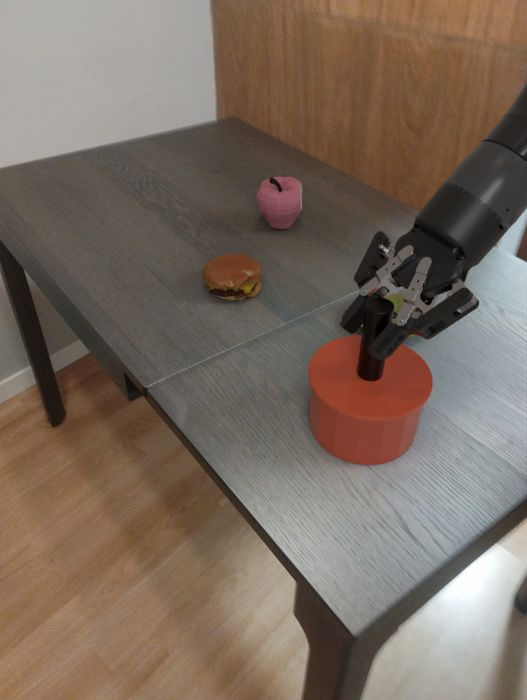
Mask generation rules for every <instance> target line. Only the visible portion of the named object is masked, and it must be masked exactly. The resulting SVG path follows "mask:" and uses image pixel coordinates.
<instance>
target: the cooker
mask: <svg viewBox="0 0 527 700" xmlns="http://www.w3.org/2000/svg"><path fill="white" fill-rule="evenodd" d="M310 388H311V387H310ZM309 402H310V404H309V405H310V406H309V428H310V432H311V433H312V436H313V437H314V439H315V441H316V442H317V443H318V444H319V446H320V447H321V448H322V449H323V450H325V451H326V452H327V453H329V454H330V455H331V456H332V457H335V458H338V459H340V460H341V461H344V462H347V463H351V464H355V465H362V466H375V465H382V464H383V465H384V464H387V463H391V462H393V461H395V460H397V459H399V458H400V457H402V456H404V455H405V454H406V453H407V451H409V449H410V448H411V447H412V445H413V444H414V441H415V439H416V435H417V432H418V431H419V430H418V429H419V426H420V422H421V418H422V413H423V410H424V406H423V407H422V408H421V409H419V410H418V411H417V412H415V413H414V414H412V415H410V416H407V417H405V418H402V419H399V420H394V421H387V422H370V421H362V420H357V419H353V418H350V417H347V416H344V415H342V414H340V413H338V412H336V411H334V410H332V409H331V408H329V407H328V406H326V405H325V404H324V403H323V402H322V401H320V400H319V398H318V397H317V396H316V395H315V393H314V392H313V390H312V388H311V389H310V401H309Z"/></svg>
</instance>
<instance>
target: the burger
mask: <svg viewBox="0 0 527 700" xmlns="http://www.w3.org/2000/svg"><path fill="white" fill-rule="evenodd" d="M201 270H202V271H201V278H202V280H203V282H204V283H205V286H206V289H207V291H208V292H209V294H211V295H213V296H215V297H217V298H219V299H223V300H227V301H231V302H233V301H243V300H244V299H245V298H247V297H248V298H255V297H257V296H258V295H259V294H260V292H261V290H262V289H263V288H262V286H263V282H262V268H261V265H260V264H259V263H258V262H257V260H255V259H254V258H252V257H250V256H248V255H246V254H241V253H226V254H222V255H218V256H214V257H213V258H211V259H210V260H208V261H207V262H206V263H205V264H204V265H203V268H202V269H201ZM204 283H203V284H204Z"/></svg>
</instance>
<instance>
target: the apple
mask: <svg viewBox="0 0 527 700" xmlns="http://www.w3.org/2000/svg"><path fill="white" fill-rule="evenodd" d="M255 197H256V199H255V200H256V205H257V207H258V209H259V211H260V212H261V214H262V215H263V217H264V219H265V220H266V222H267V224H268V225H269V226H270V227H271V228H272V229H275V230H285V229H291V227H292V225H293V224H294V222H295V221H296V219H297V218H298V216H299V215H300V214H301V212H302V210H303V184H302V182H301V181H300V180H298V179H297V178H295V177H293V176H274V177H270V178H267V179H264V180H263V181H262V182H261V184H260V185H259V188H258V190H257V192H256V196H255Z"/></svg>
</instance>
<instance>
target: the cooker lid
mask: <svg viewBox="0 0 527 700" xmlns="http://www.w3.org/2000/svg"><path fill="white" fill-rule="evenodd" d="M393 313H394V304H393V303H392V302H391V301H390V300H388V299H385V298H381V297H375V298H371V299H369V300H368V301H367V302H366V305H365V312H364V320H363V328H362V327H361V328H362V329H361V334H352V335H347V336H342V337H338V338H336V339H333V340H330V341H329V342H326V343H324V344H323V345H322V346H321V347H319V348H318V349H317V350H316V351H315V352H314V353H313V355H312V357H311V358H310V361H309V363H308V368H307V379H308V380H307V381H308V383H309V386H310V388H312V390H313V392H314V393H315V395H316V396H317V397H318V398H319V400H320V401H322V402H323V403H324V404H325V405H326V406H328V407H329V408H331V409H332V410H334V411H336V412H338V413H340V414H342V415H344V416H347V417H350V418H353V419H357V420H362V421H370V422H387V421H394V420H399V419H402V418H405V417H407V416H410V415H412V414H414V413H415V412H417V411H418V410H419V409H421V408H422V407H423V408H424V406H425V405H426V404H427V402H428V401H429V399H430V398H431V394H432V391H433V387H434V379H433V374H432V372H431V369H430V367H429V365H428V363H426V361H425V360H424V359H423V358H422V357H421V356H420V354H418V353H417V352H416V351H415V350H413V349H412V348H410V347H409V346H407V345H405V344H404V343H402V344H401V345H400V346H399V347H398V348H397V349H396V351H394V353H393V354H392V355H391V356H390V357H388V358H383V359H382V360H378V359H376V358H375V357H373V356H372V355H371V354H370V353H369V352H368V348H369V346H370V345H371V344H372V343H373V342H374V340H375V339H376V338H377V337H378V336H379V335H380V333H381V332H382V331H383V330H384V329H385V328H386V327H387V325H388V324H389V323H390V322H392V319H393Z"/></svg>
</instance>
